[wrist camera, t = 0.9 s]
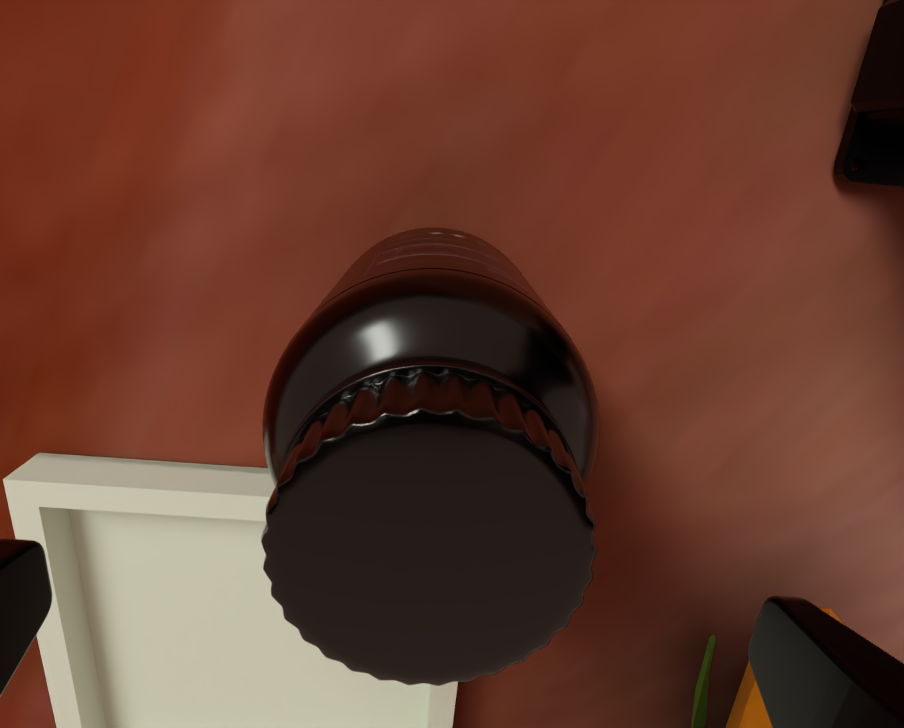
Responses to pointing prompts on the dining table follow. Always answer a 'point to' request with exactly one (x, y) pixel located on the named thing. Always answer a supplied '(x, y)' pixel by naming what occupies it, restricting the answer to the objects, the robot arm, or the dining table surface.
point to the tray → (182, 606)
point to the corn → (748, 710)
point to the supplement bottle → (430, 465)
